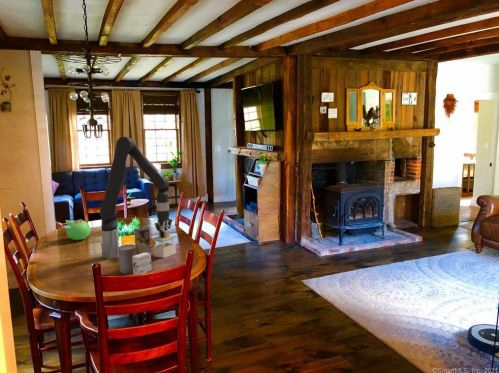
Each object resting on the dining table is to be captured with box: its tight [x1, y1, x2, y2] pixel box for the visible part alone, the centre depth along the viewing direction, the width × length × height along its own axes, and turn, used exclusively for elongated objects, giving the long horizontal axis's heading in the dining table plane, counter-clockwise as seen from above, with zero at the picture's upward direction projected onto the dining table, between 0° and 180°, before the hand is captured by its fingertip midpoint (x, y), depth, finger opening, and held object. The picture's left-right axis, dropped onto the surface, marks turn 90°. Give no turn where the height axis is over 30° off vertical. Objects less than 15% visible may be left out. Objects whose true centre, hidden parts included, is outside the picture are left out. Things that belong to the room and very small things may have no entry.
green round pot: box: [63, 218, 91, 241], centre depth 285 cm, size 18×17×15 cm
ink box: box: [132, 252, 153, 276], centre depth 210 cm, size 9×5×12 cm, turn 141°
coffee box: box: [133, 227, 152, 255], centre depth 247 cm, size 9×6×16 cm
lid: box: [151, 229, 177, 243], centre depth 245 cm, size 12×9×6 cm
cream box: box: [153, 241, 177, 259], centre depth 246 cm, size 11×8×6 cm
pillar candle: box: [118, 244, 137, 275], centre depth 219 cm, size 10×10×15 cm
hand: (164, 236), depth 245 cm, fingers closed on lid, 2 cm apart
